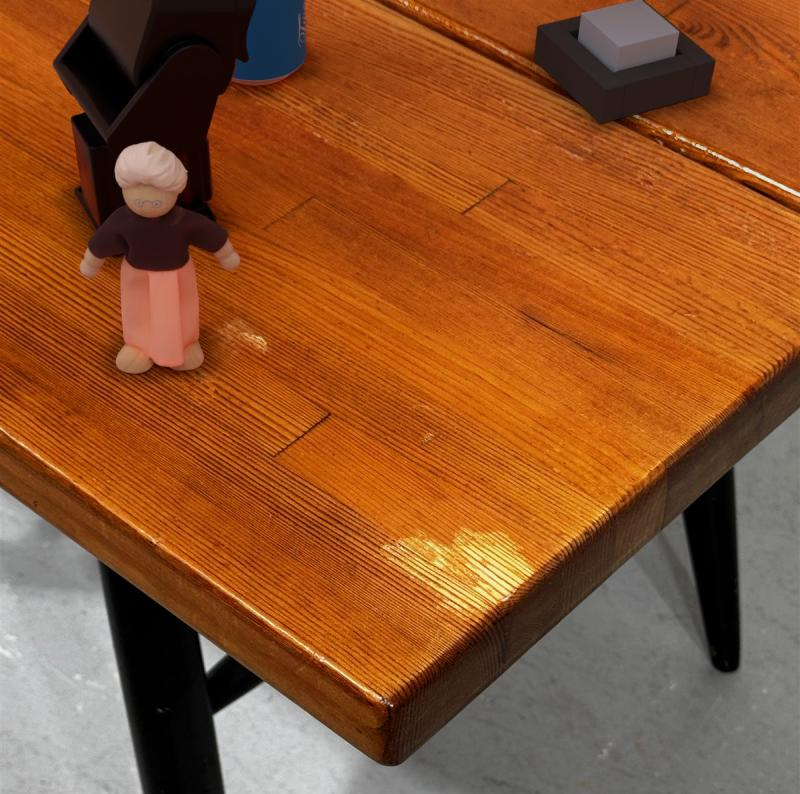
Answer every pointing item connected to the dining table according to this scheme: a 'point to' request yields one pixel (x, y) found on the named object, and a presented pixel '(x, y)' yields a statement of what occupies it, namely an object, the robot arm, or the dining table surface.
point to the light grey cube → (627, 35)
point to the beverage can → (273, 42)
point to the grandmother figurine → (156, 260)
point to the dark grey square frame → (621, 73)
